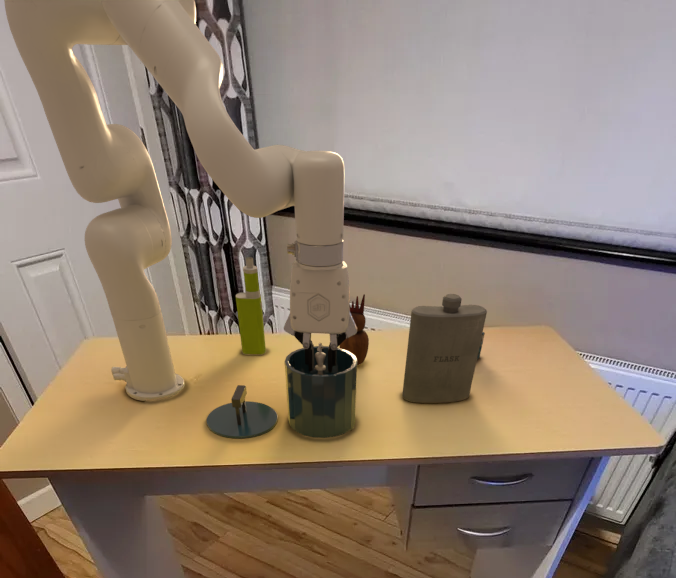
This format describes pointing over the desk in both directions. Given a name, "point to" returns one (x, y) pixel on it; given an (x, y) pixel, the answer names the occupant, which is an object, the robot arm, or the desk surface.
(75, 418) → the desk surface
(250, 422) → the lid
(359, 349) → the wooden figurine
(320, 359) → the chess piece
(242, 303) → the vape
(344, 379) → the pot
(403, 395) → the flask
